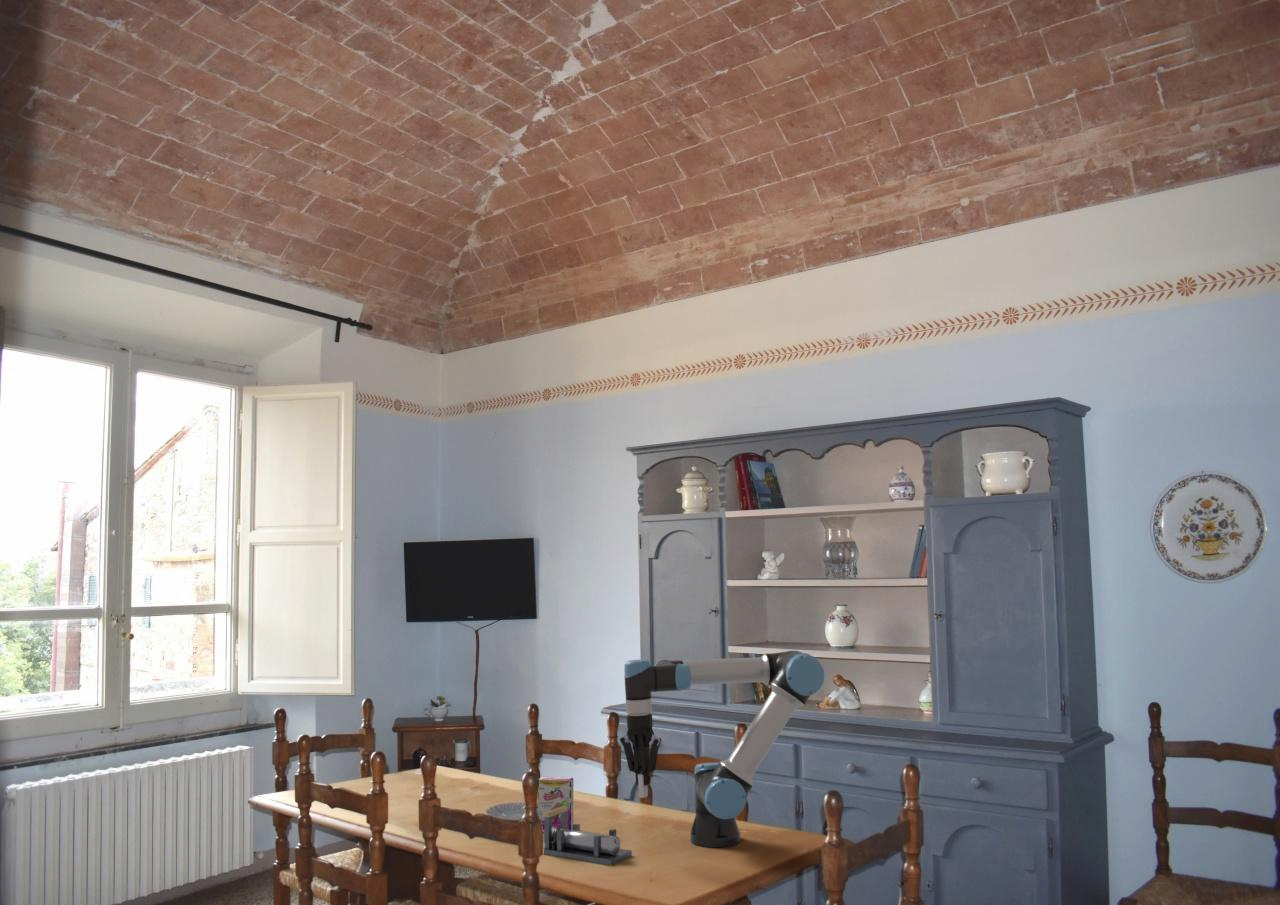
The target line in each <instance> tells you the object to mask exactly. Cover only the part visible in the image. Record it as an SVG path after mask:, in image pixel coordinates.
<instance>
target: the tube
mask: <svg viewBox="0 0 1280 905" xmlns="http://www.w3.org/2000/svg"><path fill="white" fill-rule="evenodd" d="M558 830H564V847H567V848H573V849H579V850H585V851H591V852H594V836H596V835H599V836H601V853H604V854H610V855H617V854H618V852H619V850H620V849H621V839H620V838H619V837H618V836H617V835H616V836H609V834H608V835H607V834H601V833H594V832H589V831H581V830H580V831H576V830H569V829H563V828H556V827H552V845H554V846H557V831H558ZM542 833H543V835H542V840H543V842H544V844H545V830H544V832H542Z"/></svg>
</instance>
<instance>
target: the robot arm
mask: <svg viewBox="0 0 1280 905" xmlns="http://www.w3.org/2000/svg"><path fill="white" fill-rule="evenodd" d="M623 676H624V678H623V679H624V688H625V689H624V690H625V692H624V693H625V708H626V709H625V712H626V714H627V716H626V727H627V731H626V735H625V736H622V737H621V738H619V741H620V743H621V744H622V747H623V750H624V755H625V758H626V762H627V766H628V770H629V772H633V773H635V784H636V785H637V786H638V798H640V799H642V798H643V799H644V798H646V797H648V796H649V789H648V786H649V785H650V783H651V782H650V780H651V778H650V773H651V772H655V771H656V766H657V762H658V761H657V760H658V753H659V746H660V744H661V743H662V738H661V737H657V736H656V735H655V732H654V730H653V724H654V722H653V714H652V712H653V709H652V705H653V704H652V693H657V692H675V691H679V692H681V691H686V690H690V688H691V686H693V685H696V686H697V685H718V684H719V685H721V684H722V685H723V684H744V683H745V684H746V683H752V684H753V683H762V684H764V685H765V686H770V688H771V692H770V693H769V694H768V697H767V698H766V699H765V702H764V703H763V704H762V706H761V707H760V709H759V710H758V711H757V713H756V715H755V717H754V718H753V720H752V721H751V723H750V724H749V726H748V727H747V729H746V730H745V732H744V734H743V735H742V736H741V738H740V740H738V743H737V744H736V745H735V747H734V748H733V751H732V752H731V753H730V756H729V757H728V759H725V760H720V761H719V762H705V763H704V762H703V763H698V764H696V765H695V767H694V773H693V775H694V792H695V794H694V796H695V798H694V801H695V804H694V805H695V816H694V820H693V823H692V825H691V826H692V827H691V830H690V842H691V843H692V844H694V845H696V846H700V847H705V848H725V847H732V846H735V845H737V844H739V843H740V842H741V831H740V830H739V826H738V823H737V819H736V817H737V816H739V815H740V814H741V813H742V812H743V810H745V807H746V804H747V797H748V796H747V795H748V794H749V793H750V791H751V789H752V788H753V786H754V780H753V776H754V775H755V773H756V771H757V769H758V768H759V767H760V766H761V764H762V763H763V760H764V759H765V757H767V755H768V753H769V752H770V750H771V748H772V746H773V745H774V743H775V742H776V740H777V739H778V737H779V736H780V734H781V733H782V731H783V730H784V728H785V726H786V725H787V723H788V722H789V720H790V718H791V717H792V716H793V714H794V712H795V711H796V709H797V708H799V707H804V706H805V705H806V703H807V701H808V700H809V699H810V697H811V696H812V695H815V694H816V693H817V692H818V691H819V690H820V689H821V688H822V686H823V684H824V681H825V671H824V668H823V665H822V664H821V662H820V661H819V660H818V658H815V657H814V656H813V655H811V654H810V653H807V652H806V653H805V652H801V651H798V650H788V651H782V652H774V653H773V652H772V653H763V654H762V655H761V656H759V657H758V656H757V657H738V658H737V657H735V658H734V657H732V658H712V659H707V658H705V659H684V660H668V659H661V660H659V661H657V662H655V663H654V665H651V664H650V661H649V660H648V659H643V658H642V659H631V660H626V662H625V664H624V675H623ZM650 744H651V746H650Z"/></svg>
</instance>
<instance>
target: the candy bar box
mask: <svg viewBox="0 0 1280 905" xmlns="http://www.w3.org/2000/svg"><path fill="white" fill-rule="evenodd" d="M538 779H539V789H538V815H539V819H540V821H541V824H542V826H543V830H545V818H544V813H545V812H548V811H550V810H553V809H556V808H559V807H562V806H567V807H568V829H569V830H573V825H574V824H575V823H574V777H572V776H571V777H570V776H569V777H568V776H565V777H564V776H562V777H561V776H559V777H558V776H540V777H539V778H538ZM552 827H556V828H561V813H559V814H557V815H554V816H552Z"/></svg>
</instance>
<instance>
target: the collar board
mask: <svg viewBox="0 0 1280 905" xmlns="http://www.w3.org/2000/svg"><path fill="white" fill-rule="evenodd" d="M559 813H561V828H563V829H568V807H567V806H562V807H559V808H556V809H553V810H550V811H548V812H545V813H544V818H545V843H544V848H543V849H544V854H543V855H545V856H550V855H552V857H556V856H557V858H562V857H563V859H568V858H569V860H576V861H580V862H581V861H582V862H585V863H586V862H587V863H592V864H598V865H603V866H604V865H605V866H610V865H611V866H613V865H615V864H617V862H618V863H619V862H621V861H624V860H626V859H627V858H630V857H632V856H633V855H632V854H633V852H632V850H630V849H623V848H620V850H619V852H618V854H617V855H610V854H604V853H601V836H599V835H596V836H594V852H591V851H585V850H579V849H573V848H567V847H564V830H558V831H557V846H554V845H552V816H554V815H557V814H559ZM573 830H576V831H581V824H579V823H574V825H573ZM608 835H609V836H616V837H617V829H616V828H615V829H614V828H611V829H609V830H608Z"/></svg>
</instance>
